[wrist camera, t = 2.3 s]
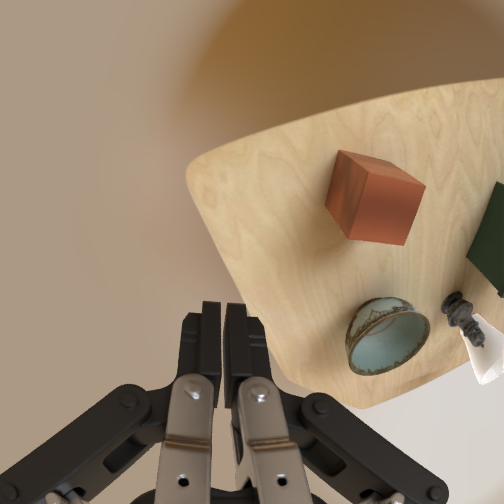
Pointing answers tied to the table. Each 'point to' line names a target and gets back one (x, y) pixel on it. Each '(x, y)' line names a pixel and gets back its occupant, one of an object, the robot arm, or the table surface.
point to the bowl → (384, 335)
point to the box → (491, 242)
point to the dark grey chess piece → (463, 318)
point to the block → (373, 199)
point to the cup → (486, 352)
